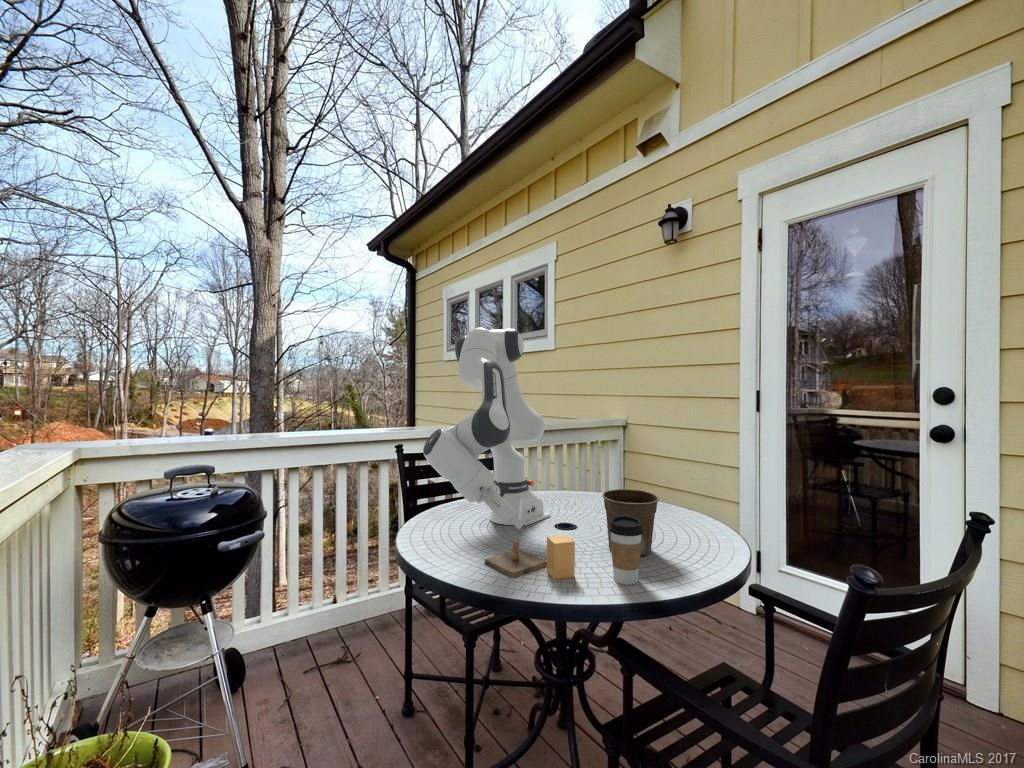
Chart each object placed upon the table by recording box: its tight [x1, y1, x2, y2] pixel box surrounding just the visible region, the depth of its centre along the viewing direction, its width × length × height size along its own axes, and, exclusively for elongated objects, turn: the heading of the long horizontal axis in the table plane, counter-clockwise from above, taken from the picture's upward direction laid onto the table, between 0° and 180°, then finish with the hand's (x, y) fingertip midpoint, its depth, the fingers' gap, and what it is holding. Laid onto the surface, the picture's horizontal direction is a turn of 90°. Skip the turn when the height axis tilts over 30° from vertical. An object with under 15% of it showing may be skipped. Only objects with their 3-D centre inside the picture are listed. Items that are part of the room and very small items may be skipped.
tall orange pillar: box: [546, 534, 576, 580], centre depth 123 cm, size 6×6×9 cm
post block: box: [484, 540, 547, 578], centre depth 130 cm, size 12×12×6 cm
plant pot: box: [602, 488, 660, 557], centre depth 141 cm, size 16×16×16 cm
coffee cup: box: [609, 516, 643, 586], centre depth 120 cm, size 8×8×15 cm
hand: (515, 520), depth 120 cm, fingers open, 8 cm apart
